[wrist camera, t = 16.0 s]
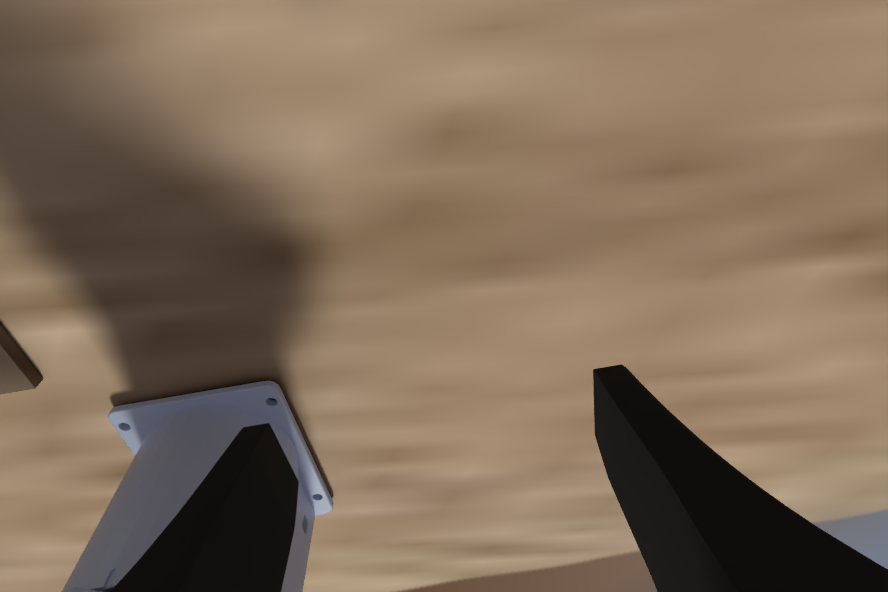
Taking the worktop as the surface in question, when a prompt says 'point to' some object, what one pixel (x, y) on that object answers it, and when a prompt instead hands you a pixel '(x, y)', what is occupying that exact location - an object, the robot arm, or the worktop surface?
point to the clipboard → (15, 367)
